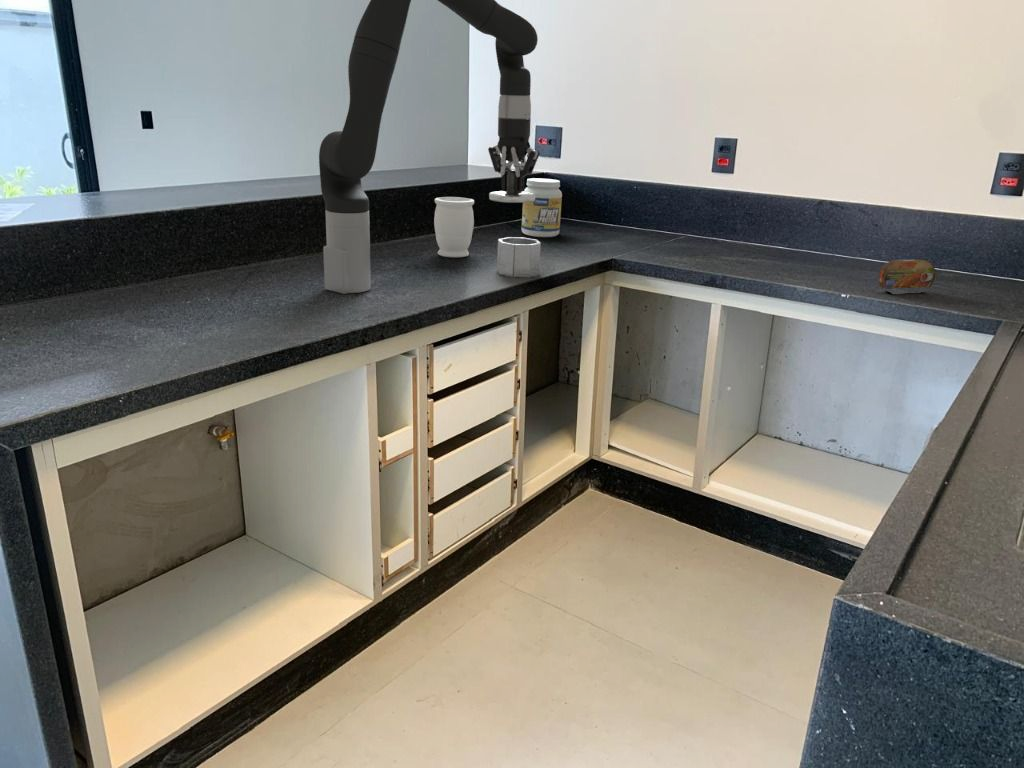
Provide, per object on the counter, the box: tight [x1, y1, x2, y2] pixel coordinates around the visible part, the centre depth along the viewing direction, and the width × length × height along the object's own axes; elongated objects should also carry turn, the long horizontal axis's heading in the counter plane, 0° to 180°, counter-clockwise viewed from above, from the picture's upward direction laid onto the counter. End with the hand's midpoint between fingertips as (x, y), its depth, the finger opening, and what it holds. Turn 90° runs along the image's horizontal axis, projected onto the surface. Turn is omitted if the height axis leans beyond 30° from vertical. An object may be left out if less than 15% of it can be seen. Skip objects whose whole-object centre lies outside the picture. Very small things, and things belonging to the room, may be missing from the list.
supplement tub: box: [521, 177, 563, 238], centre depth 249 cm, size 12×12×17 cm
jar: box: [433, 196, 475, 259], centre depth 213 cm, size 11×10×15 cm
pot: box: [496, 236, 542, 279], centre depth 197 cm, size 10×10×8 cm
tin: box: [878, 259, 936, 289], centre depth 196 cm, size 15×3×8 cm, turn 105°
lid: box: [488, 169, 535, 204], centre depth 188 cm, size 11×11×7 cm
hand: (512, 191), depth 189 cm, fingers closed on lid, 3 cm apart
